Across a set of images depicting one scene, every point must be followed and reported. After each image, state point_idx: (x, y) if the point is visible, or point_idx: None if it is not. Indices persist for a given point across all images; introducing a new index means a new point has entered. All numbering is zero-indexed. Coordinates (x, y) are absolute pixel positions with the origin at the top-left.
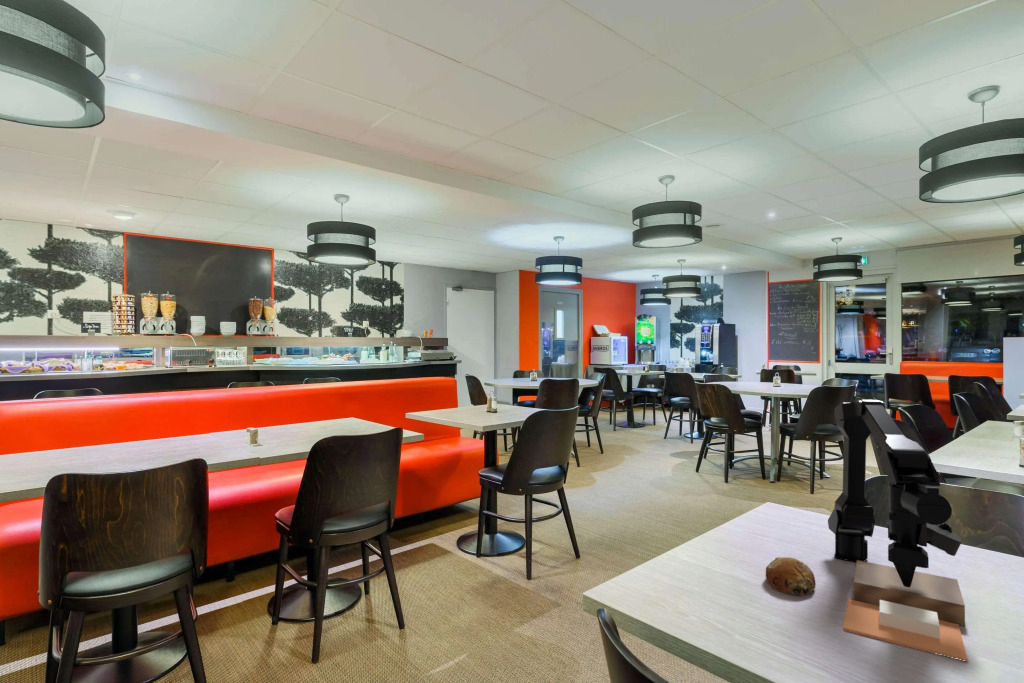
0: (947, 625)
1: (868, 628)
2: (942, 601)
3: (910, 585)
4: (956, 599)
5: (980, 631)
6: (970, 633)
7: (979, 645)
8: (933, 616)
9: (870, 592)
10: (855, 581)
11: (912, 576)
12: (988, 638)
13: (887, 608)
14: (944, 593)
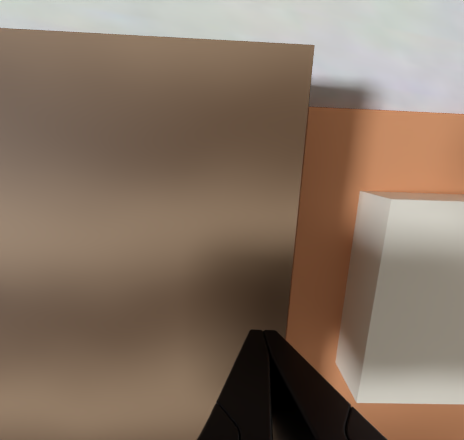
0: (344, 152)
1: None
2: (300, 165)
3: (281, 337)
4: (232, 81)
5: (303, 25)
6: (346, 71)
7: (450, 55)
8: (448, 218)
9: None
10: None
11: (330, 388)
12: (362, 4)
13: (442, 380)
14: (169, 140)
